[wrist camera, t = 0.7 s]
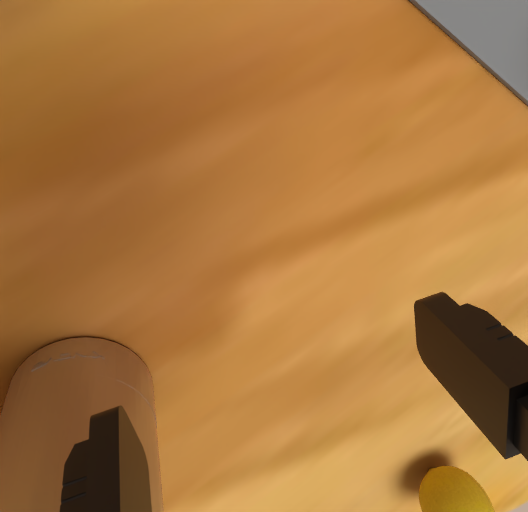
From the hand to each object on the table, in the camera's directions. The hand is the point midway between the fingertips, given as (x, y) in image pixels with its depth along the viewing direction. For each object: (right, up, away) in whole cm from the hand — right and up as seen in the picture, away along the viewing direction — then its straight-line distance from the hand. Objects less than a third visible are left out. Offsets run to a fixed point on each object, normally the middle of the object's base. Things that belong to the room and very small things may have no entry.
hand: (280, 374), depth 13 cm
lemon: (+15, -17, +34) cm, 41 cm away
